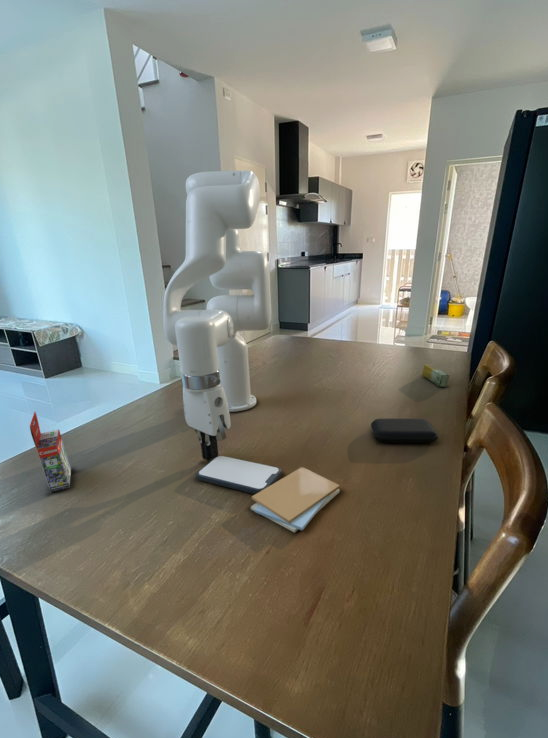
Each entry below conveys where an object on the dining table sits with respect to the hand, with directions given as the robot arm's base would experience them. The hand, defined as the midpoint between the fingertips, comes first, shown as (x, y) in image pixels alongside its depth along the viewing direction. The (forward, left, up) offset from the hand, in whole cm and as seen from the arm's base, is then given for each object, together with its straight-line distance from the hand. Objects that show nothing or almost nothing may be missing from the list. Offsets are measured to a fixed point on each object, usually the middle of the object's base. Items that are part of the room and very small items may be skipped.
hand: (210, 457), depth 84 cm
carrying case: (+29, +36, -1) cm, 46 cm away
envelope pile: (+24, 0, -1) cm, 24 cm away
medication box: (+22, +79, -1) cm, 82 cm away
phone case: (+10, -1, -1) cm, 10 cm away
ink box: (-19, -24, -1) cm, 31 cm away
